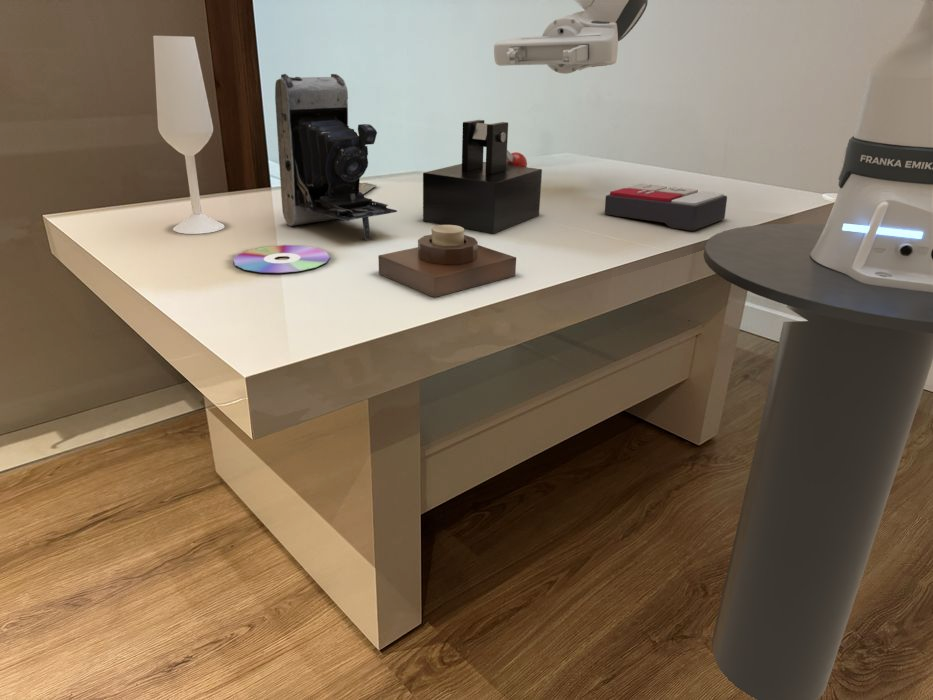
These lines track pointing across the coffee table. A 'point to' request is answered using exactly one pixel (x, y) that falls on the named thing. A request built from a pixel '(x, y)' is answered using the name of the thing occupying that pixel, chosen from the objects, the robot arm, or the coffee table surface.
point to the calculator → (667, 205)
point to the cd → (267, 263)
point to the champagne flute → (184, 115)
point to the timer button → (448, 235)
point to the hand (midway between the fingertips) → (538, 57)
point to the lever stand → (482, 186)
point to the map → (365, 187)
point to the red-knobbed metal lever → (512, 158)
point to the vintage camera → (321, 153)
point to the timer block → (446, 266)
